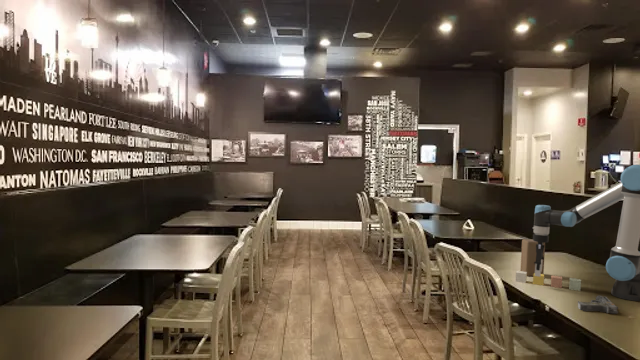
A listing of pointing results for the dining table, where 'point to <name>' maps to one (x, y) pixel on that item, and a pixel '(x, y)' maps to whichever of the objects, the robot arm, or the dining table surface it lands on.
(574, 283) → the sage cube
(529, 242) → the wooden block
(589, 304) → the handgun
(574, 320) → the dining table surface
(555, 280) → the terracotta cube
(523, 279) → the cream cube
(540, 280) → the mustard cube
